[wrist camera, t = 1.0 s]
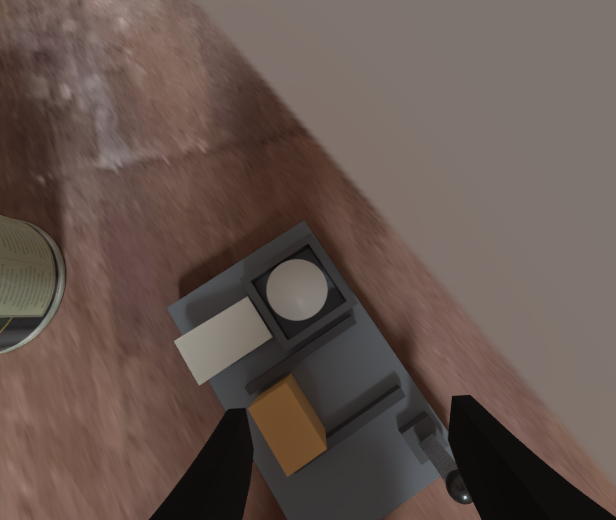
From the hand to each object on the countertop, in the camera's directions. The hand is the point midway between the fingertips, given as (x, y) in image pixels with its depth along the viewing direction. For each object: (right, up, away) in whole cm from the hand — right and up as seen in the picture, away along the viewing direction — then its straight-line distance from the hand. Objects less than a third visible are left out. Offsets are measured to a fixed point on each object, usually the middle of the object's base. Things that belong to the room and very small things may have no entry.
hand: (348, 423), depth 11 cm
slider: (-2, -4, +9) cm, 10 cm away
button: (-2, +4, +9) cm, 10 cm away
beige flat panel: (-7, +1, +9) cm, 11 cm away
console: (-1, -2, +11) cm, 11 cm away
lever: (+5, -5, +8) cm, 11 cm away
